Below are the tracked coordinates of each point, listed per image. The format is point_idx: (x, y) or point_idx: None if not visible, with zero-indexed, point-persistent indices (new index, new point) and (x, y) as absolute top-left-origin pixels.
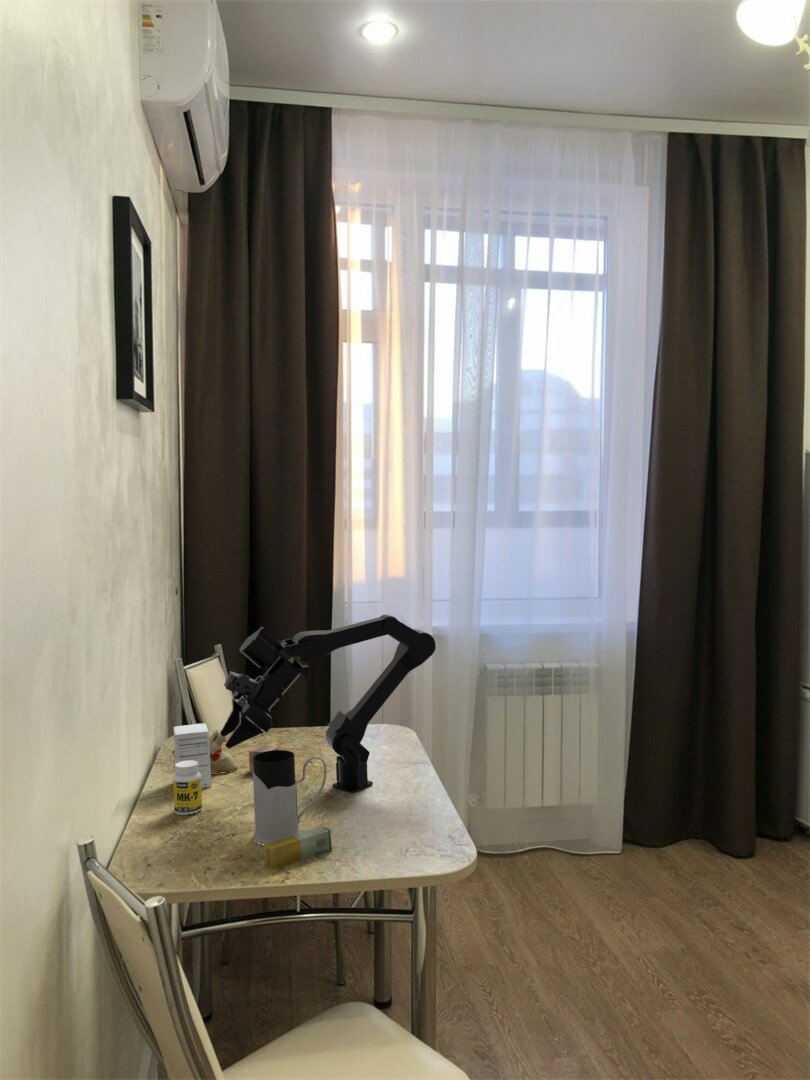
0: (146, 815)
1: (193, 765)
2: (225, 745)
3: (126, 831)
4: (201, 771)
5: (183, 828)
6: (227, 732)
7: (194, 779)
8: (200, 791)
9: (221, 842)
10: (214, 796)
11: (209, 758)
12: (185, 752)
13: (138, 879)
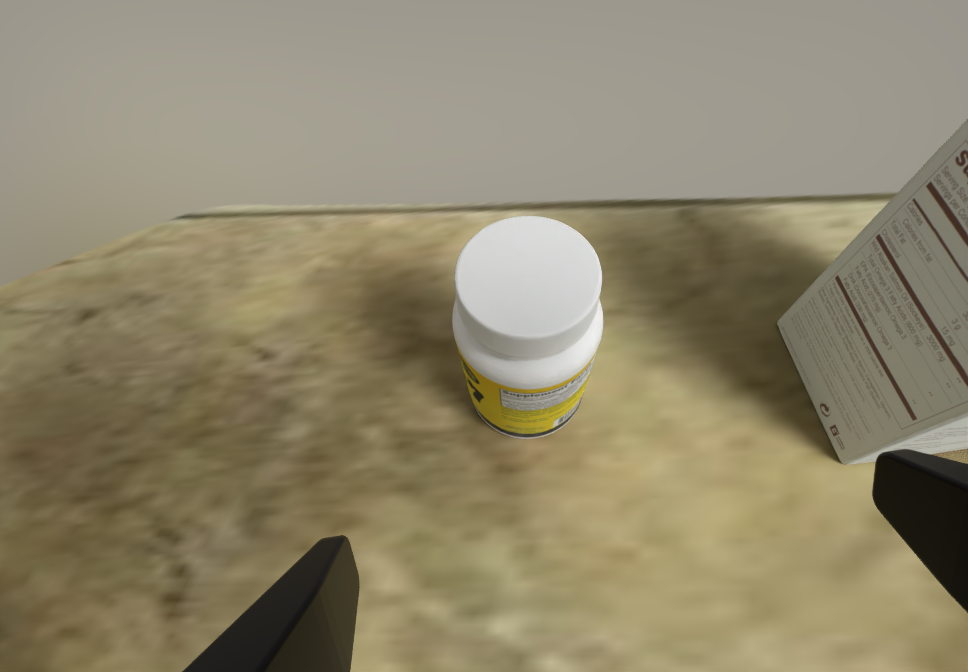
0: None
1: (474, 314)
2: (326, 538)
3: (390, 218)
4: (869, 392)
5: (340, 384)
6: (932, 550)
7: (465, 356)
8: (506, 410)
9: (120, 544)
10: (694, 488)
11: (952, 416)
12: (913, 251)
13: (8, 300)
